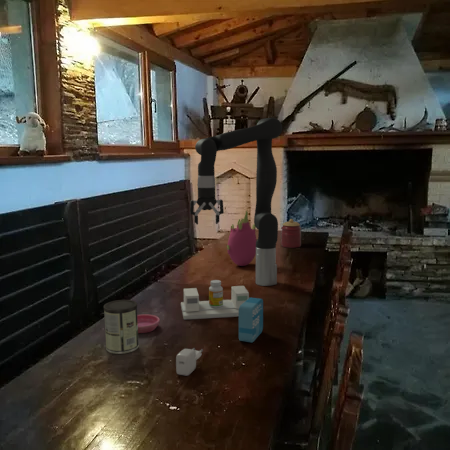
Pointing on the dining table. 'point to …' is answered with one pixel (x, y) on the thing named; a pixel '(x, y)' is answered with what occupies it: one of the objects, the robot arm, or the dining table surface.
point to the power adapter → (187, 361)
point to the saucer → (147, 323)
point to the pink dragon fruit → (242, 242)
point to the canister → (291, 234)
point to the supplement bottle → (215, 294)
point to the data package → (250, 319)
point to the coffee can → (121, 326)
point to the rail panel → (202, 309)
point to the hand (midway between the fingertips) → (207, 224)
